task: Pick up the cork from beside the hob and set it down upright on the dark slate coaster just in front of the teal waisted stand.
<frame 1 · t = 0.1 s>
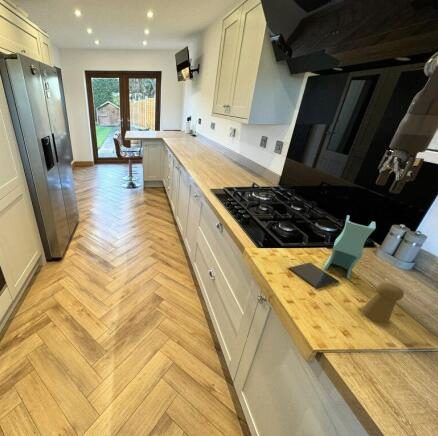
hand: (386, 188, 72), 33 cm above the worktop, tool pointing down, fingers open, 8 cm apart
cork: (374, 315, 69), on the worktop
slate coaster: (312, 275, 85), on the worktop
teal waisted stand: (337, 269, 89), on the worktop
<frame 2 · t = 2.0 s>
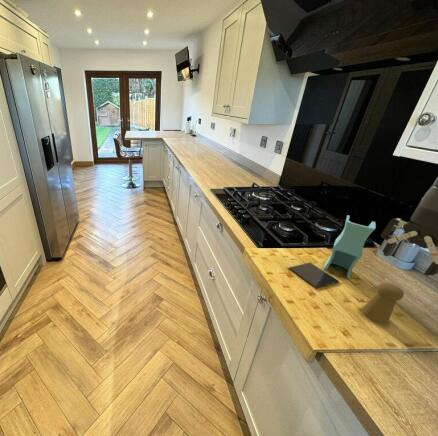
hand: (405, 264, 61), 18 cm above the worktop, tool pointing down, fingers open, 8 cm apart
nothing on the worktop moved.
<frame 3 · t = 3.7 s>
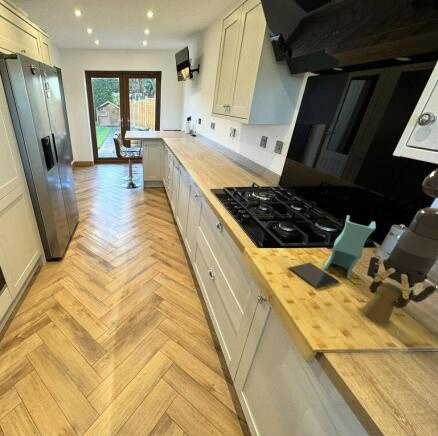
hand: (385, 298, 66), 6 cm above the worktop, tool pointing down, fingers closed on cork, 5 cm apart
cork: (374, 315, 69), on the worktop, touching gripper
everything else where it was.
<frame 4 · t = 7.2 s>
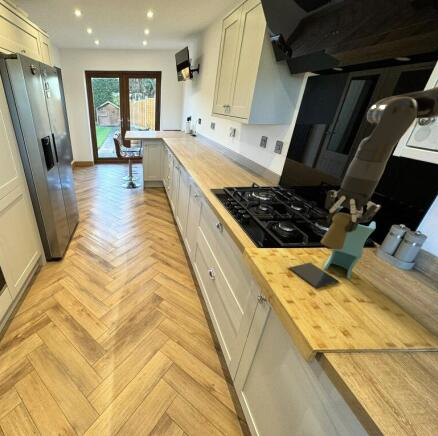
hand: (339, 227, 75), 21 cm above the worktop, tool pointing down, fingers closed on cork, 5 cm apart
cork: (331, 244, 78), point 14 cm above the worktop, touching gripper
everything else where it was.
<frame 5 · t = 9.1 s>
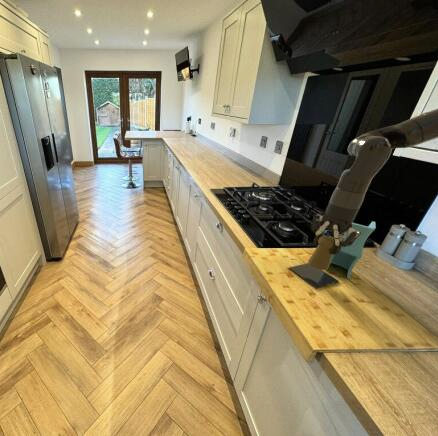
hand: (324, 249, 80), 11 cm above the worktop, tool pointing down, fingers closed on cork, 5 cm apart
cork: (317, 264, 83), point 5 cm above the worktop, touching gripper
everything else where it was.
when the fingers open (7 cm above the worktop, at t = 10.6 s): cork stays where it is, resting on slate coaster.
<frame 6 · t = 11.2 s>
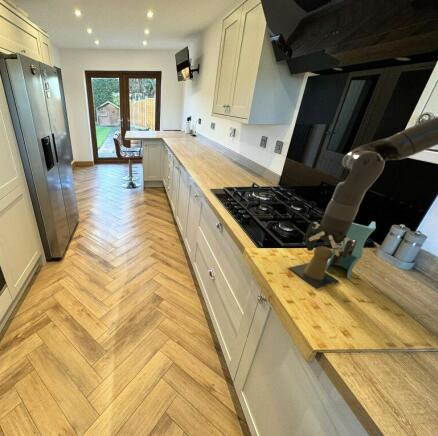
hand: (320, 256, 81), 8 cm above the worktop, tool pointing down, fingers open, 8 cm apart
cork: (313, 274, 85), resting on slate coaster
everything else where it was.
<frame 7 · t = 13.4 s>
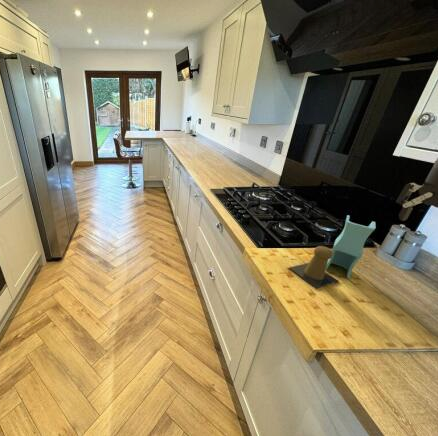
hand: (422, 226, 64), 26 cm above the worktop, tool pointing down, fingers open, 8 cm apart
nothing on the worktop moved.
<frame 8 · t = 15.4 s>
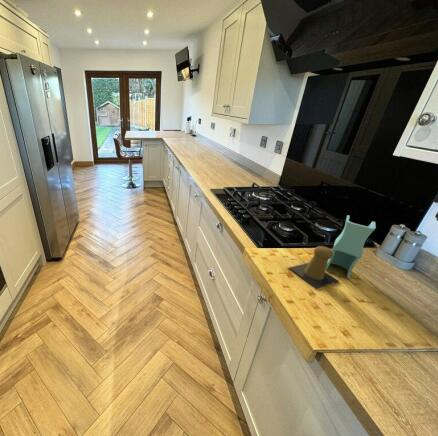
nothing on the worktop moved.
at the end: cork inside the target area on the worktop beside the teal waisted stand (0.1 cm from its centre), point 0.6 cm above the worktop; cork tilted 0°; teal waisted stand moved 0.2 cm from its start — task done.
